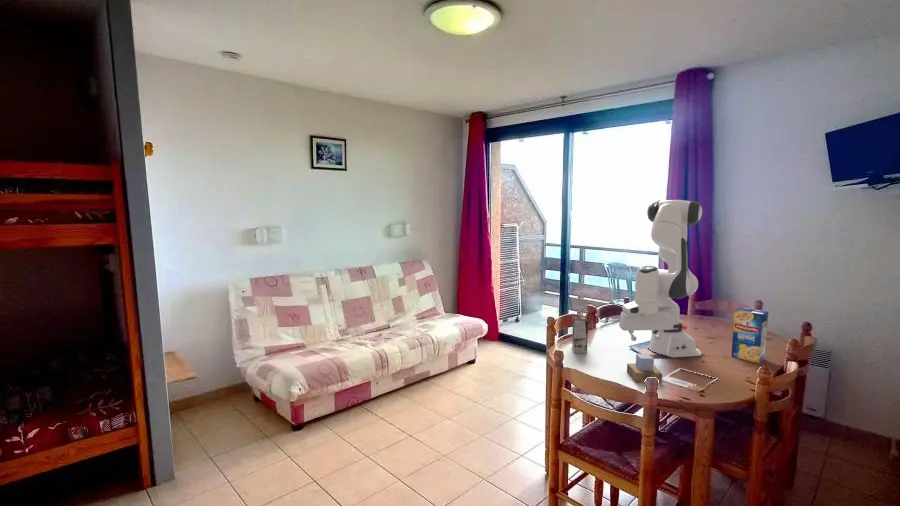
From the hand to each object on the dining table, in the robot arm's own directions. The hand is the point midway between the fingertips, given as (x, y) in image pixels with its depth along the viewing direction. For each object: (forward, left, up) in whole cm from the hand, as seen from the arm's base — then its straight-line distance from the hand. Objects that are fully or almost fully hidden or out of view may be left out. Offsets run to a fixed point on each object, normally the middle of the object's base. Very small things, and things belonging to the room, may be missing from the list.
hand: (645, 340), depth 173 cm
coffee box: (+18, -32, -16) cm, 40 cm away
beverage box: (-55, -23, -16) cm, 61 cm away
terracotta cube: (-7, -16, -16) cm, 23 cm away
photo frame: (-17, +2, -16) cm, 23 cm away
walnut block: (0, 0, -16) cm, 16 cm away
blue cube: (0, 0, -12) cm, 12 cm away
